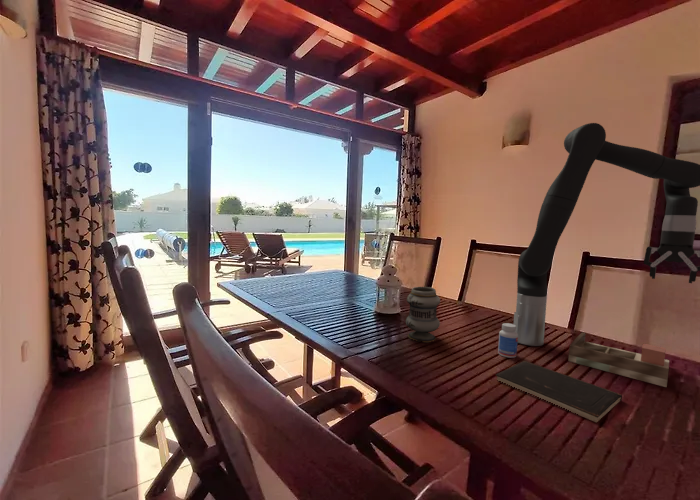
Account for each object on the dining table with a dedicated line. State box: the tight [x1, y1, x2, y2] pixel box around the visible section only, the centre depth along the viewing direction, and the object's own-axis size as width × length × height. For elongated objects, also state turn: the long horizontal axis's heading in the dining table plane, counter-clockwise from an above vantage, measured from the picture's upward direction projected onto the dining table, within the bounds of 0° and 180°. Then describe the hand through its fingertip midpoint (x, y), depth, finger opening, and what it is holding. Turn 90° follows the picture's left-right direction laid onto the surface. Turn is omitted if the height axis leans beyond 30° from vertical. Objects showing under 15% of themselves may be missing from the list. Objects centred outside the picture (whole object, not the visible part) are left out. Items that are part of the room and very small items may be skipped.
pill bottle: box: [497, 322, 519, 359], centre depth 106 cm, size 6×5×10 cm
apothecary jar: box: [405, 286, 441, 343], centre depth 120 cm, size 12×12×18 cm
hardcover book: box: [495, 360, 623, 423], centre depth 84 cm, size 16×23×2 cm
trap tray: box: [567, 331, 670, 388], centre depth 101 cm, size 22×18×5 cm
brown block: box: [640, 343, 667, 366], centre depth 98 cm, size 5×5×4 cm
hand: (671, 280), depth 106 cm, fingers open, 8 cm apart
